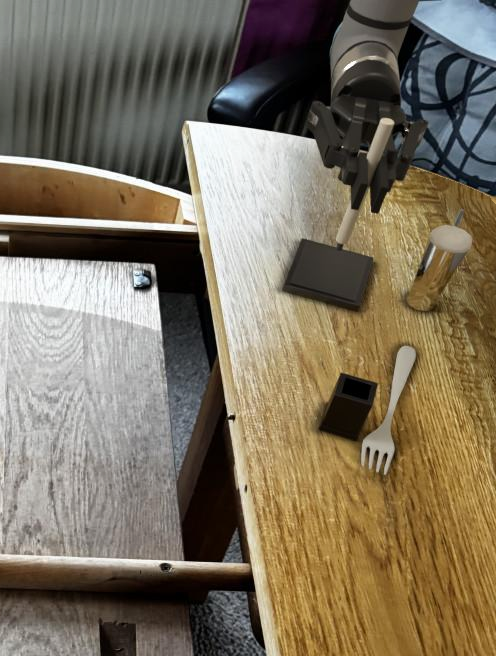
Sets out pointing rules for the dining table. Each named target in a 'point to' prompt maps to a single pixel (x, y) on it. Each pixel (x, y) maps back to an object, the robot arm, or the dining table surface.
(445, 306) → the dining table surface
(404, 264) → the dining table surface
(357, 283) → the tablet
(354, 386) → the pen stand
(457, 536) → the dining table surface
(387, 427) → the fork
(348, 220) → the stylus
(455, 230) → the milkshake
